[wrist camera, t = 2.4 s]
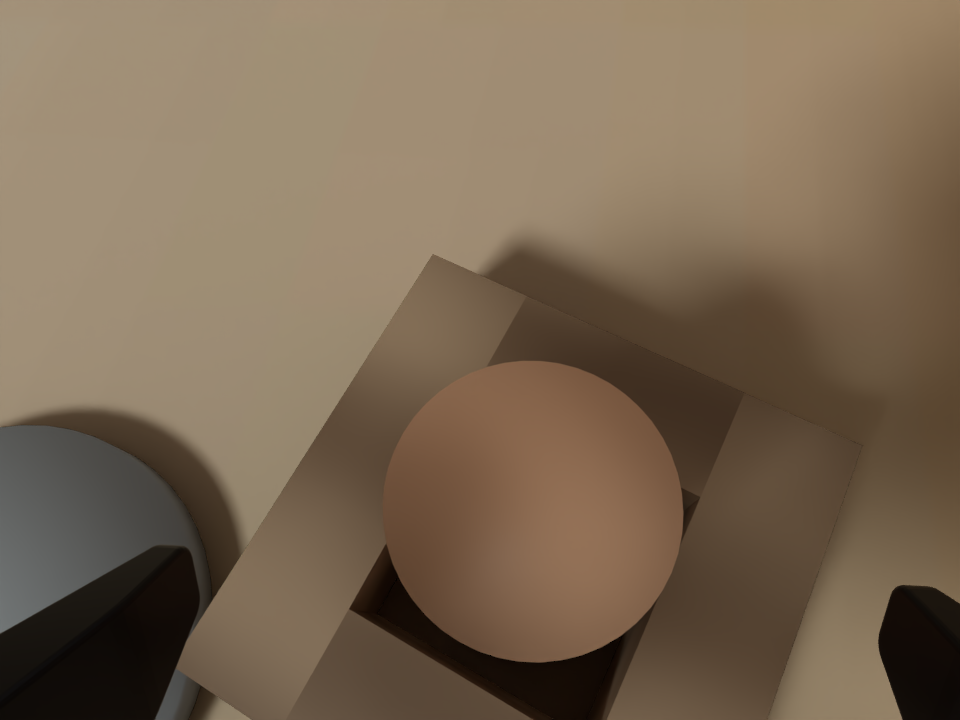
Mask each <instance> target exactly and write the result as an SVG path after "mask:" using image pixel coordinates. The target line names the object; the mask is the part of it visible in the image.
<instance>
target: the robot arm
mask: <svg viewBox="0 0 960 720" xmlns="http://www.w3.org/2000/svg"><path fill="white" fill-rule="evenodd" d="M199 606H200V590H199V586H198V581H197V576H196V571H195V566H194V561H193V557H192V553H191V551H190V550H189V549H188V548H187V547H185V546H181V545H163V544H162V545H156V546H153V547H151V548H150V549H148V550H146V551H144V552H142V553H141V554H139V555H137V556H135V557H134V558H132V559H130V560H128V561H127V562H125V563H123V564H121V565H120V566H118V567H116V568H114V569H113V570H111V571H109V572H107V573H106V574H104V575H102V576H100V577H99V578H97V579H95V580H93V581H92V582H90V583H88V584H86V585H84V586H83V587H81V588H79V589H77V590H76V591H74V592H72V593H70V594H69V595H67V596H65V597H63V598H62V599H60V600H58V601H56V602H55V603H53V604H51V605H49V606H48V607H46V608H44V609H42V610H41V611H39V612H37V613H35V614H34V615H32V616H30V617H28V618H26V619H25V620H23V621H21V622H19V623H18V624H16V625H14V626H12V627H11V628H9V629H7V630H5V631H4V632H2V633H0V720H155V719H156V716H157V714H158V712H159V709H160V707H161V705H162V702H163V700H164V697H165V695H166V692H167V689H168V687H169V684H170V682H171V679H172V677H173V674H174V672H175V669H176V667H177V664H178V662H179V659H180V657H181V654H182V652H183V649H184V646H185V644H186V641H187V639H188V636H189V634H190V631H191V629H192V626H193V624H194V621H195V619H196V616H197V613H198V610H199ZM878 644H879V652H880V656H881V659H882V662H883V665H884V668H885V670H886V673H887V676H888V679H889V682H890V685H891V688H892V691H893V693H894V696H895V699H896V702H897V705H898V708H899V711H900V714H901V716H902V719H903V720H960V604H959V603H958V602H956V601H955V600H953V599H952V598H950V597H949V596H947V595H945V594H944V593H942V592H941V591H939V590H937V589H936V588H933V587H928V586H912V585H900V586H897V587H896V588H895V589H894V590H893V591H892V594H891V596H890V599H889V603H888V606H887V609H886V613H885V616H884V619H883V622H882V626H881V629H880V632H879V639H878Z"/></svg>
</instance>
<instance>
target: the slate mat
mask: <svg viewBox="0 0 960 720" xmlns="http://www.w3.org/2000/svg"><path fill="white" fill-rule="evenodd" d="M162 544H163V545H181V546H185V547H187V548H188V549H189V550H190V551H191V553H192V557H193V561H194V566H195V571H196V576H197V581H198V586H199V590H200V606H199V610H198V613H197V616H196V619H195V621H194V624H193V626H192V629H191V631H190V634H189V636H188V638H189V637H190V635H191V633H192V632H193V630H194V629H195V627H196V626H197V624H198V622H199V621H200V619H201V618H202V616H203V615H204V613H205V611H206V610H207V608H208V607H209V605H210V604H211V602H212V592H211V578H210V573H209V568H208V563H207V558H206V554H205V550H204V547H203V544H202V541H201V538H200V536H199V533H198V530H197V527H196V525H195V523H194V521H193V520H192V518H191V516H190V514H189V512H188V510H187V508H186V506H185V505H184V503H183V502H182V501H181V499H180V498H179V497H178V495H177V494H176V493H175V491H174V490H173V489H172V487H171V486H170V485H169V484H168V483H167V482H166V481H165V480H164V479H163V478H162V477H161V476H160V475H159V474H158V473H157V472H156V471H155V470H154V469H152V468H151V467H149V466H148V465H147V464H145V463H144V462H142V461H141V460H139V459H138V458H137V457H135V456H133V455H131V454H129V453H127V452H125V451H123V450H121V449H119V448H117V447H115V446H113V445H111V444H108V443H106V442H104V441H102V440H100V439H98V438H96V437H93V436H90V435H87V434H84V433H81V432H77V431H74V430H71V429H65V428H58V427H52V426H34V425H20V426H10V427H1V428H0V633H2V632H4V631H5V630H7V629H9V628H11V627H12V626H14V625H16V624H18V623H19V622H21V621H23V620H25V619H26V618H28V617H30V616H32V615H34V614H35V613H37V612H39V611H41V610H42V609H44V608H46V607H48V606H49V605H51V604H53V603H55V602H56V601H58V600H60V599H62V598H63V597H65V596H67V595H69V594H70V593H72V592H74V591H76V590H77V589H79V588H81V587H83V586H84V585H86V584H88V583H90V582H92V581H93V580H95V579H97V578H99V577H100V576H102V575H104V574H106V573H107V572H109V571H111V570H113V569H114V568H116V567H118V566H120V565H121V564H123V563H125V562H127V561H128V560H130V559H132V558H134V557H135V556H137V555H139V554H141V553H142V552H144V551H146V550H148V549H150V548H151V547H153V546H156V545H162ZM187 640H188V639H187ZM200 686H201V685H199V684H198V683H196V682H195V681H194V680H192V679H191V678H189V677H188V676H186V675H185V674H183V673H182V672H180V671H179V670H177V669H175V672H174V674H173V677H172V679H171V682H170V684H169V687H168V689H167V692H166V695H165V697H164V700H163V702H162V705H161V707H160V709H159V712H158V714H157V716H156V719H155V720H188V719H189V717H190V714H191V712H192V709H193V707H194V704H195V702H196V700H197V696H198V693H199V689H200Z"/></svg>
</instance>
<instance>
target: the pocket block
mask: <svg viewBox="0 0 960 720" xmlns="http://www.w3.org/2000/svg"><path fill="white" fill-rule="evenodd" d="M516 361H545V362H552V363H559V364H563V365H567V366H571V367H575V368H578V369H581V370H583V371H586V372H588V373H591V374H593V375H595V376H597V377H599V378H601V379H603V380H605V381H607V382H608V383H610V384H612V385H613V386H615V387H616V388H617V389H619V390H620V391H622V392H623V393H624V394H626V395H627V396H628V397H629V398H630V399H631V400H632V401H633V402H635V403H636V404H637V405H638V406H639V407H640V408H641V409H642V410H643V412H644V413H645V414H646V415H647V416H648V417H649V419H650V420H651V421H652V422H653V424H654V425H655V427H656V428H657V430H658V431H659V433H660V434H661V436H662V437H663V439H664V441H665V443H666V445H667V447H668V449H669V451H670V453H671V455H672V458H673V461H674V464H675V467H676V470H677V472H678V477H679V481H680V486H681V491H682V500H683V529H682V537H681V542H680V547H679V553H678V556H677V559H676V562H675V565H674V567H673V570H672V573H671V575H670V577H669V579H668V581H667V583H666V585H665V587H664V589H663V591H662V592H661V594H660V595H659V597H658V598H657V599H656V601H655V602H654V604H653V605H652V607H651V608H650V609H649V610H648V611H647V612H646V613H645V614H644V616H643V617H642V618H641V619H640V620H639V621H638V622H637V623H636V624H635V625H633V626H632V627H631V628H630V629H629V630H627V631H626V632H625V633H624V634H623V636H622V638H621V641H620V643H619V645H618V648H617V650H616V652H615V655H614V657H613V659H612V662H611V664H610V666H609V669H608V671H607V673H606V676H605V678H604V680H603V682H602V685H601V687H600V689H599V692H598V694H597V696H596V699H595V701H594V703H593V706H592V708H591V710H590V713H589V715H588V717H587V720H767V719H768V716H769V713H770V710H771V707H772V704H773V701H774V698H775V696H776V693H777V690H778V687H779V684H780V681H781V678H782V676H783V673H784V670H785V667H786V664H787V661H788V658H789V655H790V653H791V650H792V647H793V644H794V641H795V638H796V635H797V632H798V630H799V627H800V624H801V621H802V618H803V615H804V612H805V610H806V607H807V604H808V601H809V598H810V595H811V592H812V589H813V587H814V584H815V581H816V578H817V575H818V572H819V569H820V566H821V564H822V561H823V558H824V555H825V552H826V549H827V546H828V544H829V541H830V538H831V535H832V532H833V529H834V526H835V523H836V521H837V518H838V515H839V512H840V509H841V506H842V503H843V500H844V498H845V495H846V492H847V489H848V486H849V483H850V480H851V477H852V475H853V472H854V469H855V466H856V463H857V460H858V457H859V455H860V452H861V449H862V445H860V444H858V443H856V442H854V441H851V440H849V439H847V438H845V437H842V436H840V435H838V434H836V433H833V432H831V431H829V430H827V429H824V428H822V427H820V426H818V425H815V424H813V423H811V422H809V421H806V420H804V419H802V418H800V417H797V416H795V415H793V414H791V413H788V412H786V411H784V410H782V409H779V408H777V407H775V406H773V405H770V404H768V403H766V402H764V401H761V400H759V399H757V398H755V397H752V396H750V395H748V394H746V393H744V392H741V391H739V390H737V389H735V388H732V387H730V386H728V385H726V384H723V383H721V382H719V381H717V380H714V379H712V378H710V377H708V376H705V375H703V374H701V373H699V372H696V371H694V370H692V369H690V368H687V367H685V366H683V365H681V364H678V363H676V362H674V361H672V360H669V359H667V358H665V357H663V356H660V355H658V354H656V353H654V352H651V351H649V350H647V349H645V348H642V347H640V346H638V345H636V344H633V343H631V342H629V341H627V340H625V339H622V338H620V337H618V336H616V335H613V334H611V333H609V332H607V331H604V330H602V329H600V328H598V327H595V326H593V325H591V324H589V323H586V322H584V321H582V320H580V319H577V318H575V317H573V316H571V315H568V314H566V313H564V312H562V311H559V310H557V309H555V308H553V307H550V306H548V305H546V304H544V303H541V302H539V301H537V300H535V299H532V298H530V297H528V296H526V295H523V294H521V293H519V292H517V291H515V290H512V289H510V288H508V287H506V286H503V285H501V284H499V283H497V282H494V281H492V280H490V279H488V278H485V277H483V276H481V275H479V274H476V273H474V272H472V271H470V270H467V269H465V268H463V267H461V266H458V265H456V264H454V263H452V262H449V261H447V260H445V259H443V258H440V257H438V256H436V255H434V254H433V255H432V256H431V258H430V260H429V261H428V263H427V264H426V266H425V267H424V269H423V271H422V272H421V274H420V275H419V277H418V278H417V280H416V282H415V283H414V285H413V286H412V288H411V289H410V291H409V293H408V294H407V296H406V297H405V299H404V300H403V302H402V304H401V305H400V307H399V308H398V310H397V311H396V313H395V315H394V316H393V318H392V319H391V321H390V322H389V324H388V326H387V327H386V329H385V330H384V332H383V333H382V335H381V337H380V338H379V340H378V341H377V343H376V344H375V346H374V348H373V349H372V351H371V352H370V354H369V355H368V357H367V359H366V360H365V362H364V363H363V365H362V366H361V368H360V370H359V371H358V373H357V374H356V376H355V377H354V379H353V381H352V382H351V384H350V385H349V387H348V388H347V390H346V392H345V393H344V395H343V396H342V398H341V399H340V401H339V403H338V404H337V406H336V407H335V409H334V410H333V412H332V414H331V415H330V417H329V418H328V420H327V421H326V423H325V424H324V426H323V428H322V429H321V431H320V432H319V434H318V435H317V437H316V439H315V440H314V442H313V443H312V445H311V446H310V448H309V450H308V451H307V453H306V454H305V456H304V457H303V459H302V461H301V462H300V464H299V465H298V467H297V468H296V470H295V472H294V473H293V475H292V476H291V478H290V479H289V481H288V483H287V484H286V486H285V487H284V489H283V490H282V492H281V494H280V495H279V497H278V498H277V500H276V501H275V503H274V505H273V506H272V508H271V509H270V511H269V512H268V514H267V516H266V517H265V519H264V520H263V522H262V523H261V525H260V527H259V528H258V530H257V531H256V533H255V534H254V536H253V538H252V539H251V541H250V542H249V544H248V545H247V547H246V549H245V550H244V552H243V553H242V555H241V556H240V558H239V560H238V561H237V563H236V564H235V566H234V567H233V569H232V571H231V572H230V574H229V575H228V577H227V578H226V580H225V582H224V583H223V585H222V586H221V588H220V589H219V591H218V593H217V594H216V596H215V597H214V599H213V600H212V602H211V604H210V605H209V607H208V608H207V610H206V611H205V613H204V615H203V616H202V618H201V619H200V621H199V622H198V624H197V626H196V627H195V629H194V630H193V632H192V633H191V635H190V637H189V638H188V640H187V641H186V644H185V646H184V649H183V652H182V654H181V657H180V659H179V662H178V664H177V667H176V669H177V670H179V671H180V672H182V673H183V674H185V675H186V676H188V677H189V678H191V679H192V680H194V681H195V682H196V683H198V684H199V685H201V686H202V687H204V688H205V689H207V690H208V691H210V692H211V693H213V694H214V695H216V696H217V697H219V698H220V699H222V700H223V701H225V702H226V703H228V704H229V705H231V706H232V707H234V708H235V709H237V710H238V711H240V712H241V713H243V714H244V715H246V716H247V717H249V718H250V719H252V720H554V719H552V718H550V717H549V716H547V715H545V714H544V713H542V712H540V711H538V710H537V709H535V708H533V707H532V706H530V705H528V704H527V703H525V702H523V701H522V700H520V699H518V698H517V697H515V696H513V695H512V694H510V693H508V692H507V691H505V690H503V689H502V688H500V687H498V686H497V685H495V684H493V683H492V682H490V681H488V680H487V679H485V678H483V677H482V676H480V675H478V674H476V673H475V672H473V671H471V670H470V669H468V668H466V667H465V666H463V665H461V664H460V663H458V662H456V661H455V660H453V659H451V658H450V657H448V656H446V655H445V654H443V653H441V652H440V651H438V650H436V649H435V648H433V647H431V646H430V645H428V644H426V643H425V642H423V641H421V640H419V639H418V638H416V637H414V636H413V635H411V634H409V633H408V632H406V631H404V630H403V629H401V628H399V627H398V626H396V625H394V624H393V623H391V622H389V621H388V620H386V619H384V618H383V617H381V616H379V615H378V614H377V613H378V611H379V609H380V607H381V606H382V604H383V602H384V600H385V598H386V597H387V595H388V593H389V591H390V589H391V587H392V586H393V584H394V582H395V580H396V578H397V577H398V574H397V572H396V570H395V568H394V566H393V563H392V560H391V557H390V554H389V550H388V547H387V544H386V538H385V532H384V526H383V506H382V505H383V493H384V484H385V480H386V475H387V471H388V467H389V464H390V461H391V458H392V455H393V453H394V450H395V448H396V446H397V444H398V442H399V440H400V438H401V436H402V434H403V432H404V431H405V429H406V428H407V426H408V425H409V423H410V422H411V420H412V419H413V418H414V416H415V415H416V414H417V413H418V412H419V411H420V410H421V408H422V407H423V406H424V405H425V404H426V403H427V402H428V401H429V400H430V399H432V398H433V397H434V396H435V395H436V394H437V393H438V392H440V391H441V390H442V389H444V388H445V387H447V386H448V385H450V384H451V383H453V382H454V381H456V380H458V379H460V378H462V377H464V376H466V375H468V374H470V373H472V372H475V371H478V370H480V369H483V368H486V367H489V366H493V365H498V364H502V363H507V362H516Z"/></svg>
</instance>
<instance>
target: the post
mask: <svg viewBox="0 0 960 720" xmlns="http://www.w3.org/2000/svg"><path fill="white" fill-rule="evenodd" d="M382 506H383V526H384V532H385V538H386V544H387V547H388V550H389V554H390V557H391V560H392V563H393V566H394V568H395V570H396V572H397V574H398V576H399V579H400V581H401V583H402V584H403V586H404V587H405V589H406V591H407V592H408V594H409V595H410V597H411V598H412V600H413V601H414V602H415V603H416V605H417V606H418V607H419V608H420V609H421V611H422V612H423V613H424V614H425V615H426V616H427V617H428V618H429V619H430V620H431V621H432V622H433V623H434V624H436V625H437V626H438V627H439V628H440V629H441V630H443V631H444V632H445V633H447V634H448V635H450V636H451V637H453V638H454V639H456V640H457V641H459V642H461V643H463V644H465V645H467V646H469V647H471V648H473V649H475V650H477V651H479V652H482V653H485V654H488V655H491V656H494V657H497V658H502V659H507V660H513V661H518V662H539V663H541V662H550V661H560V660H565V659H569V658H573V657H577V656H581V655H584V654H586V653H589V652H591V651H594V650H596V649H598V648H601V647H603V646H605V645H606V644H608V643H610V642H611V641H613V640H615V639H616V638H618V637H620V636H621V635H622V634H624V633H625V632H626V631H627V630H629V629H630V628H631V627H632V626H633V625H635V624H636V623H637V622H638V621H639V620H640V619H641V618H642V617H643V616H644V614H645V613H646V612H647V611H648V610H649V609H650V608H651V607H652V605H653V604H654V602H655V601H656V599H657V598H658V597H659V595H660V594H661V592H662V591H663V589H664V587H665V585H666V583H667V581H668V579H669V577H670V575H671V573H672V570H673V567H674V565H675V562H676V559H677V556H678V553H679V547H680V542H681V537H682V529H683V500H682V491H681V486H680V481H679V477H678V472H677V470H676V467H675V464H674V461H673V458H672V455H671V453H670V451H669V449H668V447H667V445H666V443H665V441H664V439H663V437H662V436H661V434H660V433H659V431H658V430H657V428H656V427H655V425H654V424H653V422H652V421H651V420H650V419H649V417H648V416H647V415H646V414H645V413H644V412H643V410H642V409H641V408H640V407H639V406H638V405H637V404H636V403H635V402H633V401H632V400H631V399H630V398H629V397H628V396H627V395H626V394H624V393H623V392H622V391H620V390H619V389H617V388H616V387H615V386H613V385H612V384H610V383H608V382H607V381H605V380H603V379H601V378H599V377H597V376H595V375H593V374H591V373H588V372H586V371H583V370H581V369H578V368H575V367H571V366H567V365H563V364H559V363H552V362H545V361H516V362H507V363H502V364H498V365H493V366H489V367H486V368H483V369H480V370H478V371H475V372H472V373H470V374H468V375H466V376H464V377H462V378H460V379H458V380H456V381H454V382H453V383H451V384H450V385H448V386H447V387H445V388H444V389H442V390H441V391H440V392H438V393H437V394H436V395H435V396H434V397H433V398H432V399H430V400H429V401H428V402H427V403H426V404H425V405H424V406H423V407H422V408H421V410H420V411H419V412H418V413H417V414H416V415H415V416H414V418H413V419H412V420H411V422H410V423H409V425H408V426H407V428H406V429H405V431H404V432H403V434H402V436H401V438H400V440H399V442H398V444H397V446H396V448H395V450H394V453H393V455H392V458H391V461H390V464H389V467H388V471H387V475H386V480H385V484H384V493H383V505H382Z"/></svg>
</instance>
